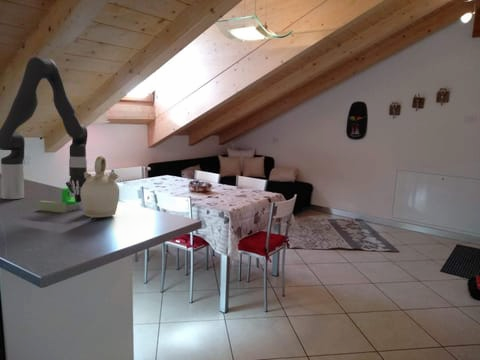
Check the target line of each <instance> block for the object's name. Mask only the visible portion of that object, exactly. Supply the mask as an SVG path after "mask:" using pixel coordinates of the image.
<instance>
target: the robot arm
mask: <svg viewBox="0 0 480 360" xmlns="http://www.w3.org/2000/svg"><path fill="white" fill-rule="evenodd" d="M42 79H44V80H45V79H46V80H47V82H48V83H49V85H50V87H51V89H52V95H53V104H54V107H55V109H56V111H57V113H58V115H59V117H60V119H61V121H62V124H63V127H64V129H65V131H66V134H67V135H68V136H69V137H70V138H71V144H70V145H69V159H68V160H69V161H68V170H69V172H68V173H69V174H68V175H69V176H70V178H69V180H68V181H67V182H65V185H66V186H67V187H66V188H69V190H70V192H71V194H73V195H74V197H75V201H76V202H79V203H82V201H81V195H80V193H81V188H82V186H83V184H84V182H85V181H86V179H85V178H84V177H85V175H84V173H85V172H87V173H88V171H87V170H88V169H87V164H88V163H87V162H88V161H87V149H86V146H87V141H88V129H87V127H86V126H85V125H84V124H81V123H80V121H79V119H78V117H77V116H78V113H77V111H76V109H75V107H74V106H73V103H72V102H71V99H70V98H69V96H68V94H67V91H66V88H65V86H64V82H63V80H62V77H61V73H60V70H59V68H58V66H57V64H56V63H55V61H54V60H53V59H51V58H48V57H43V56H42V57H41V56H35V57H34V56H33V57H30V58H29V60H28V62H27V64H26V66H25V71H24V74H23V77H22V80H21V83H20V86H19V88H18V91H17V94H16V96H15V98H14V100H13V103H12V104H11V107H10V109H9V111H8V115H7V117H6V118H5V120H4V122H3V124H2V126H1V127H0V150H2V151H10V154H8V155H7V156H3V157H1V158H0V167H1V168H0V169H1V170H0V171H1V178H0V198H1V199H3V200H17V199H18V200H19V199H24V198H25V180H24V179H25V178H24V159H25V145H26V144H25V137H24V135H23V133H21V132H20V131H16V130H17V129H18V128H19V127H21V126H22V125H24V124H25V123H27V121H29V120H30V119H31V118H32V117H33V116H34V114H35V112H36V109H37V107H38V105H39V104H38V103H39V102H38V101H39V100H38V94H37V89H38V87H39V84H40V82H41V80H42Z"/></svg>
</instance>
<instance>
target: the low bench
mask: <svg viewBox="0 0 480 360" xmlns="http://www.w3.org/2000/svg"><path fill="white" fill-rule="evenodd" d="M78 205H79V203H78V204H71V205H66V203H62V202H58V201H49V200H39V201H38V208H39V209H38V210H39V211H44V212H53V213H62V214H64V213H68V212H71V211H74V210H79V209H78V207H79V206H78Z"/></svg>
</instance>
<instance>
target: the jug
mask: <svg viewBox="0 0 480 360" xmlns="http://www.w3.org/2000/svg"><path fill="white" fill-rule="evenodd" d="M106 167H107V161H106V158H105V157H104V156H103V155H101V156H100V155H99V156H97V157H96V158H95V161H94V172H95V175H93V176H92V175H91V173H90V172H88V171H87V172H85V173H84V175H85V177H84V178H85V179H86V181H85V182H84V184H83V186H82V188H81V193H80V195H81V204H82V210H83V212H84V213H83V214H84V216H85V217H87V218H88V217H89V218H107V217H112V216H115V215H116V213H117V209H118V205H119V200H120V199H119V198H120V188H119V185H118V183H117V181H116V179H119V175H118V174H117V173H115V172H114V171H110V174H109V176H107V175H106V174H105V172H106V170H107V169H106Z"/></svg>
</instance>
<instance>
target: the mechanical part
mask: <svg viewBox="0 0 480 360" xmlns="http://www.w3.org/2000/svg"><path fill="white" fill-rule="evenodd" d="M71 195H72V193H71V191H70V190H69V188H68V187H64V188H63V189H62V190H61V203H66V205H71V204H78V205H79V203H80V202H76V201H75V196H71Z"/></svg>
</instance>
